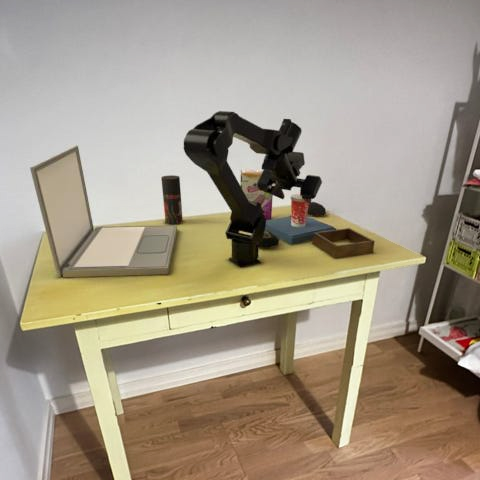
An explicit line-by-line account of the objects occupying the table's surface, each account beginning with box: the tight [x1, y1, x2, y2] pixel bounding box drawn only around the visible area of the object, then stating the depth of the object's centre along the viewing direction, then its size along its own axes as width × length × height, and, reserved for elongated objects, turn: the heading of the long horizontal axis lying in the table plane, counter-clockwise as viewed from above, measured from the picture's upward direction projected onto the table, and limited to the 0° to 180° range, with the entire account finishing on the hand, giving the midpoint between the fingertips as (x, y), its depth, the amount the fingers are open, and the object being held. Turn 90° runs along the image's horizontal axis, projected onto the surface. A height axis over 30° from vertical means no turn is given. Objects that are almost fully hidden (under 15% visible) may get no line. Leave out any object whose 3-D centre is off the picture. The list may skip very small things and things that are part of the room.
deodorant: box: [161, 174, 184, 226], centre depth 136 cm, size 6×6×15 cm
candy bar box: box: [239, 169, 274, 220], centre depth 138 cm, size 11×5×16 cm, turn 93°
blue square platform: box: [264, 215, 337, 245], centre depth 130 cm, size 18×18×2 cm
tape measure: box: [258, 231, 280, 249], centre depth 118 cm, size 7×7×4 cm
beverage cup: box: [290, 188, 309, 227], centre depth 125 cm, size 6×6×14 cm
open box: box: [311, 227, 376, 259], centre depth 117 cm, size 13×13×4 cm
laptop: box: [29, 145, 178, 278], centre depth 109 cm, size 35×28×26 cm
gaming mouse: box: [307, 201, 327, 217], centre depth 149 cm, size 6×15×4 cm, turn 23°
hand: (296, 200), depth 123 cm, fingers open, 9 cm apart
